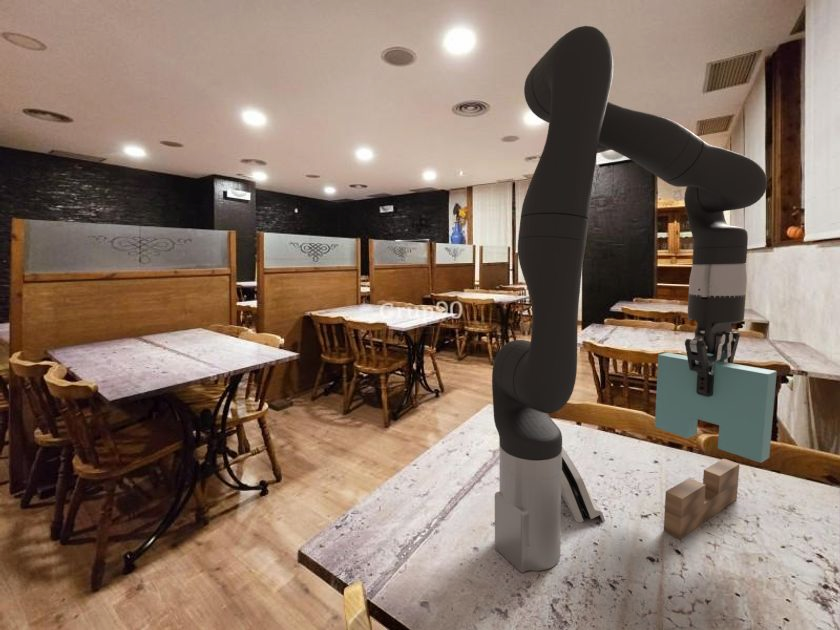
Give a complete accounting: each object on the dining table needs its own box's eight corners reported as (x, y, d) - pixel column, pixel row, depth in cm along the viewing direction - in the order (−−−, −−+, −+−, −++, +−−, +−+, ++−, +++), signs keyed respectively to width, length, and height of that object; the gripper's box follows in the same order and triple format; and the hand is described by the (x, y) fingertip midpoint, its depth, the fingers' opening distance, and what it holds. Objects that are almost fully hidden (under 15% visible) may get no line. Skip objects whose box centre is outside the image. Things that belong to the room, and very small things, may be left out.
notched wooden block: (679, 539, 63) (681, 498, 63) (663, 530, 66) (665, 491, 65) (736, 499, 73) (739, 464, 73) (721, 492, 76) (723, 458, 75)
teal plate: (654, 427, 74) (658, 354, 72) (663, 423, 75) (667, 352, 74) (760, 462, 60) (768, 374, 58) (769, 457, 62) (776, 371, 60)
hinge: (606, 522, 68) (588, 471, 67) (580, 531, 68) (561, 480, 67) (572, 472, 85) (557, 430, 84) (551, 479, 85) (536, 438, 84)
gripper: (711, 288, 71) (705, 381, 73) (669, 293, 64) (663, 395, 66) (763, 290, 65) (754, 391, 67) (722, 296, 58) (714, 408, 60)
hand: (709, 392), depth 67 cm, fingers closed on teal plate, 3 cm apart
